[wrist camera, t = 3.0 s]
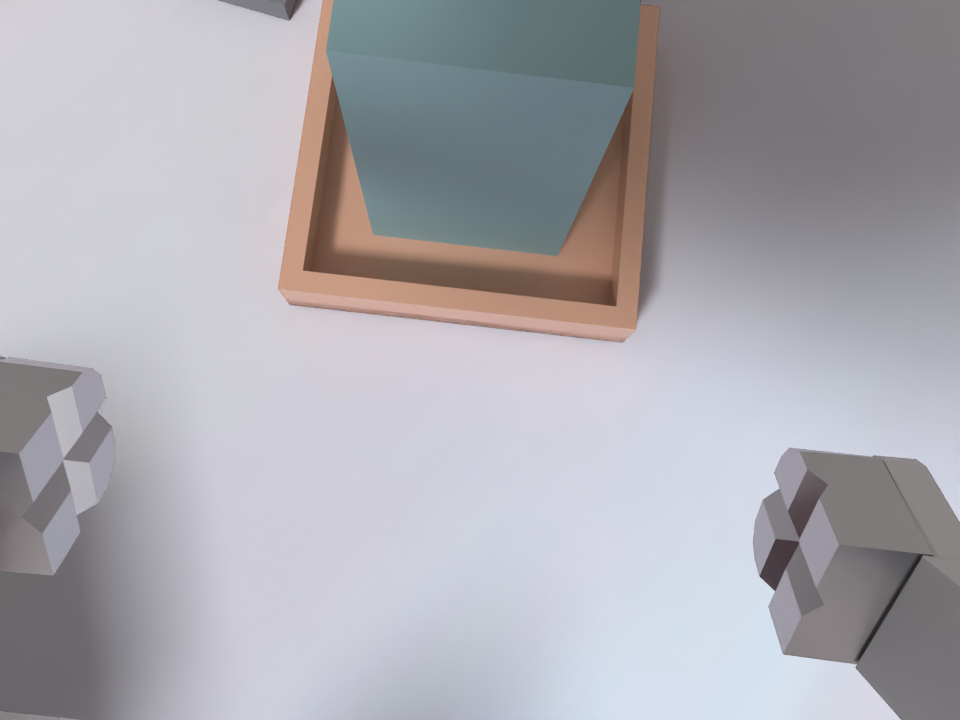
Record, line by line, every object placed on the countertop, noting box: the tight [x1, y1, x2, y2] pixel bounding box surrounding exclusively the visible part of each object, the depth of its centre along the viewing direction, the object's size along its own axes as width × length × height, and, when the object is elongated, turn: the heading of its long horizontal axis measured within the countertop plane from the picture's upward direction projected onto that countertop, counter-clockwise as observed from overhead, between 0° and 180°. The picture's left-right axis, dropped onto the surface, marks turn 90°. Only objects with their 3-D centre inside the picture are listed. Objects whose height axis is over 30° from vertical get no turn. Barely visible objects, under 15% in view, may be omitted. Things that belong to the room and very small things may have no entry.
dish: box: [278, 0, 660, 342], centre depth 24 cm, size 10×10×3 cm
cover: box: [326, 0, 641, 256], centre depth 19 cm, size 6×6×11 cm
